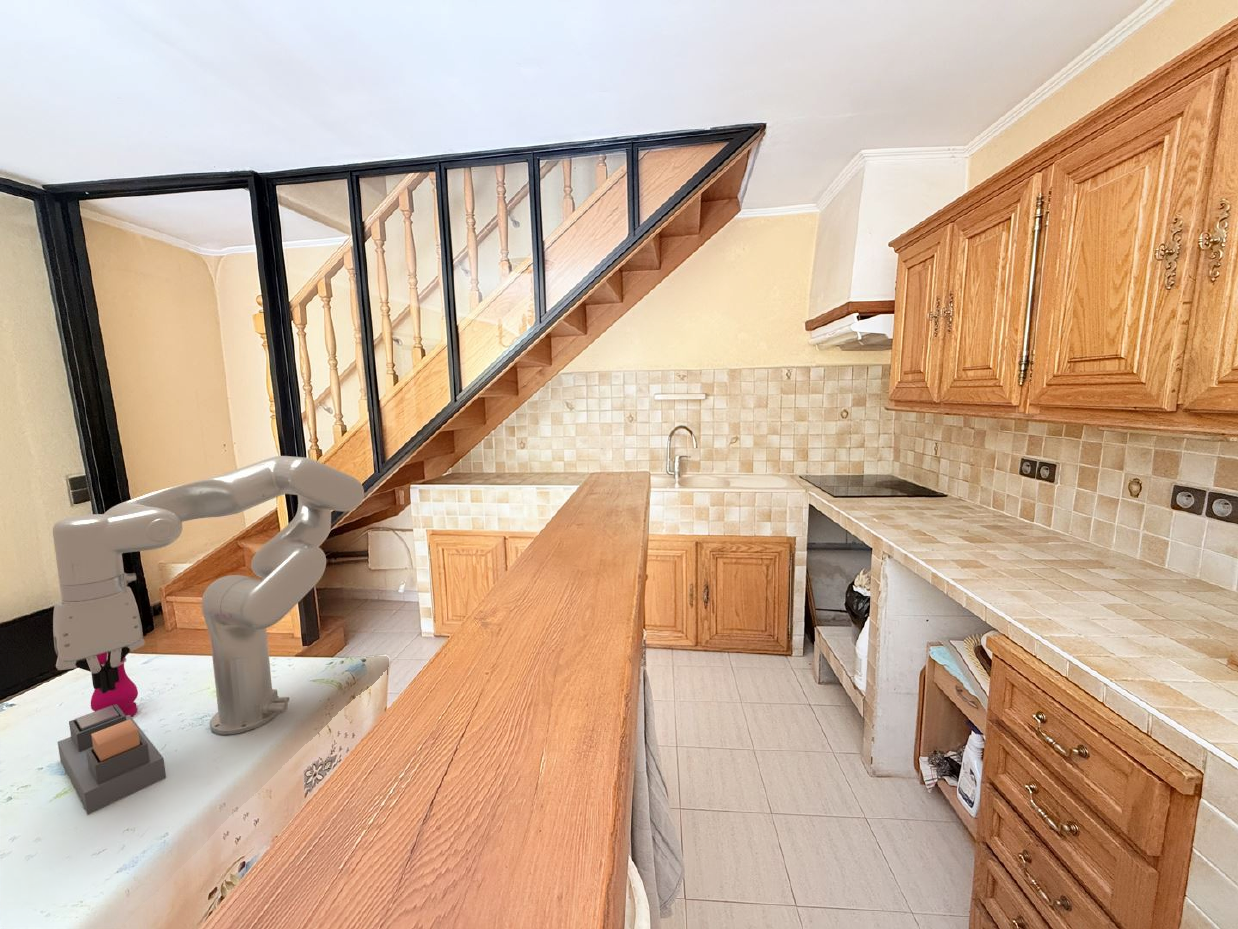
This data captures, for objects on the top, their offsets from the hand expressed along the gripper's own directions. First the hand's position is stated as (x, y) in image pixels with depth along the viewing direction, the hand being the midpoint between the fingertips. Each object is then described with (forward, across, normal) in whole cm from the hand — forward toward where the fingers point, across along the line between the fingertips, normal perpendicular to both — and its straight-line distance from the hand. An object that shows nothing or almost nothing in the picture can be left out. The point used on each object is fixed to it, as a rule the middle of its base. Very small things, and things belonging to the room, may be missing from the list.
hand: (107, 689), depth 87 cm
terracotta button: (+11, 0, 0) cm, 11 cm away
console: (+19, 0, -7) cm, 20 cm away
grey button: (+14, 0, -14) cm, 20 cm away
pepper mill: (+19, -5, -27) cm, 34 cm away
